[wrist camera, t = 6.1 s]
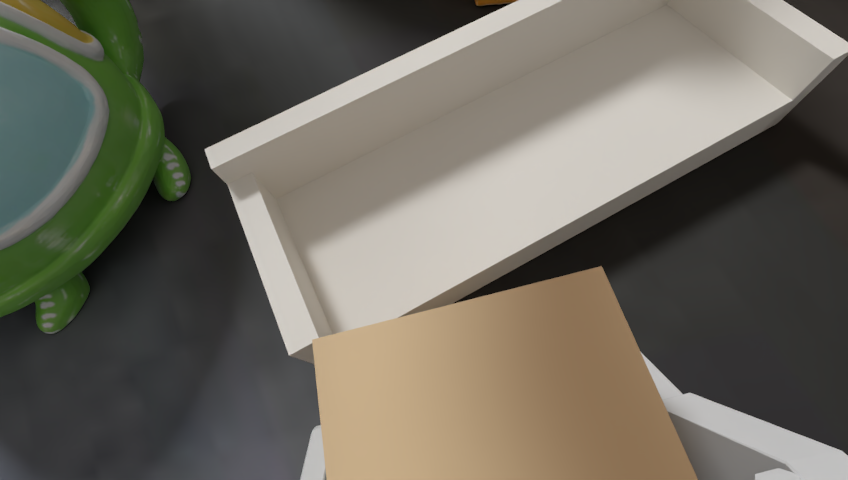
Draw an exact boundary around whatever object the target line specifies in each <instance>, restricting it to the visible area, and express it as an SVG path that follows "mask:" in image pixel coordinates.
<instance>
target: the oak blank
mask: <svg viewBox="0 0 848 480" xmlns="http://www.w3.org/2000/svg"><path fill="white" fill-rule="evenodd" d="M312 345H313V354H314V364H315V373H316V383H317V392H318V402H319V412H320V421H321V431H322V440H323V450H324V459H325V469H326V478H327V480H698V478H697V476H696V474H695V472H694V469H693V467H692V465H691V463H690V461H689V458H688V456H687V454H686V452H685V450H684V447H683V445H682V443H681V441H680V438H679V436H678V434H677V432H676V430H675V427H674V425H673V423H672V421H671V419H670V416H669V414H668V412H667V410H666V407H665V405H664V403H663V401H662V399H661V396H660V394H659V392H658V390H657V387H656V385H655V383H654V381H653V379H652V376H651V374H650V372H649V370H648V368H647V365H646V363H645V361H644V359H643V356H642V354H641V352H640V350H639V348H638V345H637V343H636V341H635V339H634V337H633V334H632V332H631V330H630V328H629V325H628V323H627V321H626V319H625V317H624V314H623V312H622V310H621V308H620V305H619V303H618V301H617V299H616V297H615V294H614V292H613V290H612V288H611V286H610V283H609V281H608V279H607V277H606V274H605V272H604V270H603V268H602V266H600V267H596V268H592V269H588V270H584V271H580V272H576V273H572V274H568V275H564V276H560V277H557V278H553V279H549V280H545V281H541V282H537V283H533V284H529V285H525V286H521V287H517V288H513V289H509V290H505V291H501V292H497V293H494V294H490V295H486V296H482V297H478V298H474V299H470V300H466V301H462V302H458V303H454V304H450V305H446V306H442V307H438V308H435V309H431V310H427V311H423V312H419V313H415V314H411V315H407V316H403V317H399V318H395V319H391V320H387V321H383V322H379V323H375V324H372V325H368V326H364V327H360V328H356V329H352V330H348V331H344V332H340V333H336V334H332V335H328V336H324V337H320V338H316V339H313V340H312Z"/></svg>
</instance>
